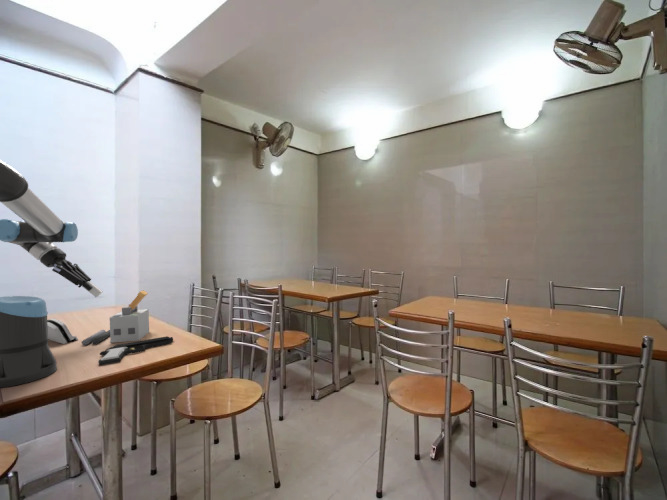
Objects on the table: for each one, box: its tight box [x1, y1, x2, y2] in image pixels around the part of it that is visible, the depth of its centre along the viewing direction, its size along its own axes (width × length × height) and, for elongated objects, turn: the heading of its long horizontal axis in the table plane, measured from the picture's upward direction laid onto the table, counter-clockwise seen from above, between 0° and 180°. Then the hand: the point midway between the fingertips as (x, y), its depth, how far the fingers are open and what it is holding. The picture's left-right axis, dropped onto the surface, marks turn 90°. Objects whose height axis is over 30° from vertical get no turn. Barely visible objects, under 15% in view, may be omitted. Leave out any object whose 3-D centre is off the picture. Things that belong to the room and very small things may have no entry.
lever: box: [127, 290, 148, 312], centre depth 129 cm, size 2×5×10 cm
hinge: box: [47, 318, 79, 345], centre depth 126 cm, size 17×5×10 cm, turn 61°
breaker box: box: [109, 303, 150, 344], centre depth 128 cm, size 10×12×13 cm
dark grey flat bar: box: [81, 329, 110, 346], centre depth 126 cm, size 5×14×2 cm, turn 14°
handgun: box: [98, 335, 174, 366], centre depth 111 cm, size 3×23×15 cm
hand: (99, 294), depth 125 cm, fingers closed
